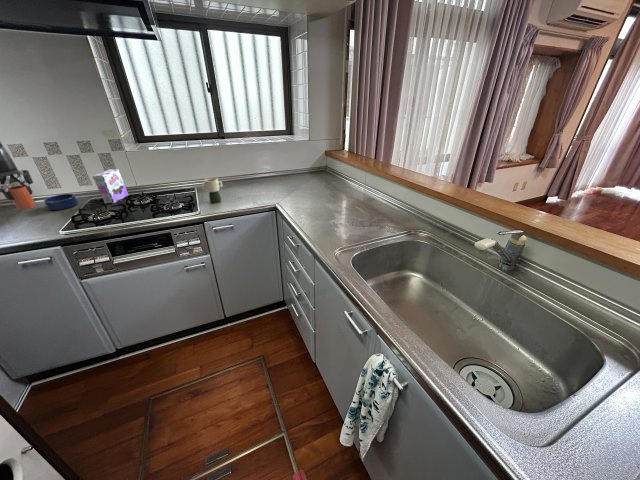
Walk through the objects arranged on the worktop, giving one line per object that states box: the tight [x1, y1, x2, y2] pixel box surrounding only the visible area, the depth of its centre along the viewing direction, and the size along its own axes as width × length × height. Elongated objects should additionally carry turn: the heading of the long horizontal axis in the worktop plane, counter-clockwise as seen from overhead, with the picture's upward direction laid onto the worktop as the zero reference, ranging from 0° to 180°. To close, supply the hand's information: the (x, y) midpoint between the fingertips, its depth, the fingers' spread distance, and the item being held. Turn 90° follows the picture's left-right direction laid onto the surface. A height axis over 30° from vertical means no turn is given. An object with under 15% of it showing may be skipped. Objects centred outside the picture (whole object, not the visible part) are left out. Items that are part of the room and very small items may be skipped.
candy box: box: [92, 168, 130, 204], centre depth 155 cm, size 14×6×16 cm, turn 179°
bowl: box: [43, 193, 79, 211], centre depth 150 cm, size 13×13×5 cm
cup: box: [8, 184, 37, 211], centre depth 118 cm, size 6×6×9 cm
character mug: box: [201, 177, 223, 203], centre depth 151 cm, size 11×7×13 cm, turn 116°
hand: (21, 196), depth 118 cm, fingers closed on cup, 6 cm apart
